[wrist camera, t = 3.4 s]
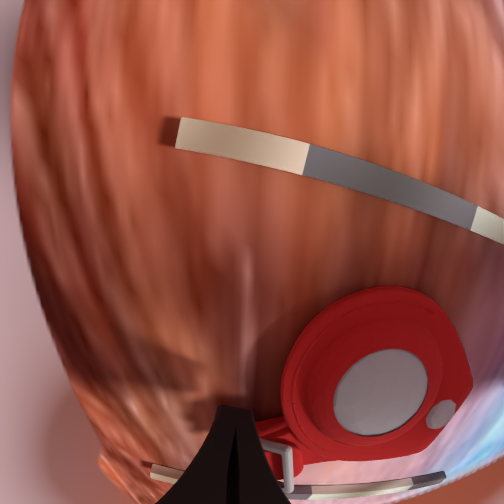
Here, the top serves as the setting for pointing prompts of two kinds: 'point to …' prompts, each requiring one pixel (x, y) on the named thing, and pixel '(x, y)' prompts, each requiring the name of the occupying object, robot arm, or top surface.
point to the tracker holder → (367, 382)
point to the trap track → (351, 176)
